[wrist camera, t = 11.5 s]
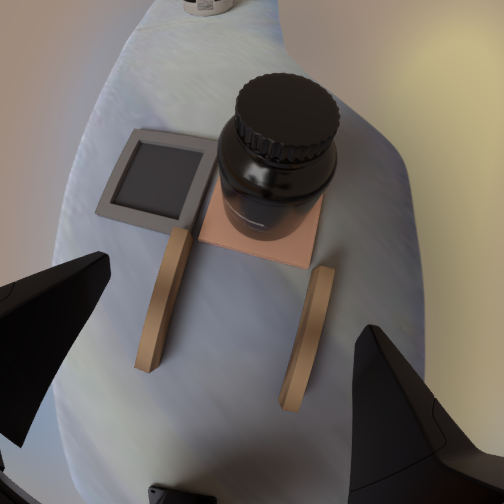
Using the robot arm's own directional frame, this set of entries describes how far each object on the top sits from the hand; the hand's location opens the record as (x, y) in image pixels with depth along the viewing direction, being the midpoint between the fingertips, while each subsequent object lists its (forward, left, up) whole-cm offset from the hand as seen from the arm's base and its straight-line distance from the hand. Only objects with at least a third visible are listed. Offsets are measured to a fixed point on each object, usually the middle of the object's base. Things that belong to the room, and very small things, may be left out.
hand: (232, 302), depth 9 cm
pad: (+9, -2, -13) cm, 16 cm away
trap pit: (+11, +8, -13) cm, 19 cm away
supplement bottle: (+9, -1, -13) cm, 15 cm away
